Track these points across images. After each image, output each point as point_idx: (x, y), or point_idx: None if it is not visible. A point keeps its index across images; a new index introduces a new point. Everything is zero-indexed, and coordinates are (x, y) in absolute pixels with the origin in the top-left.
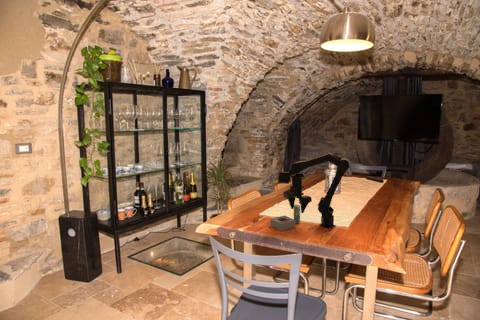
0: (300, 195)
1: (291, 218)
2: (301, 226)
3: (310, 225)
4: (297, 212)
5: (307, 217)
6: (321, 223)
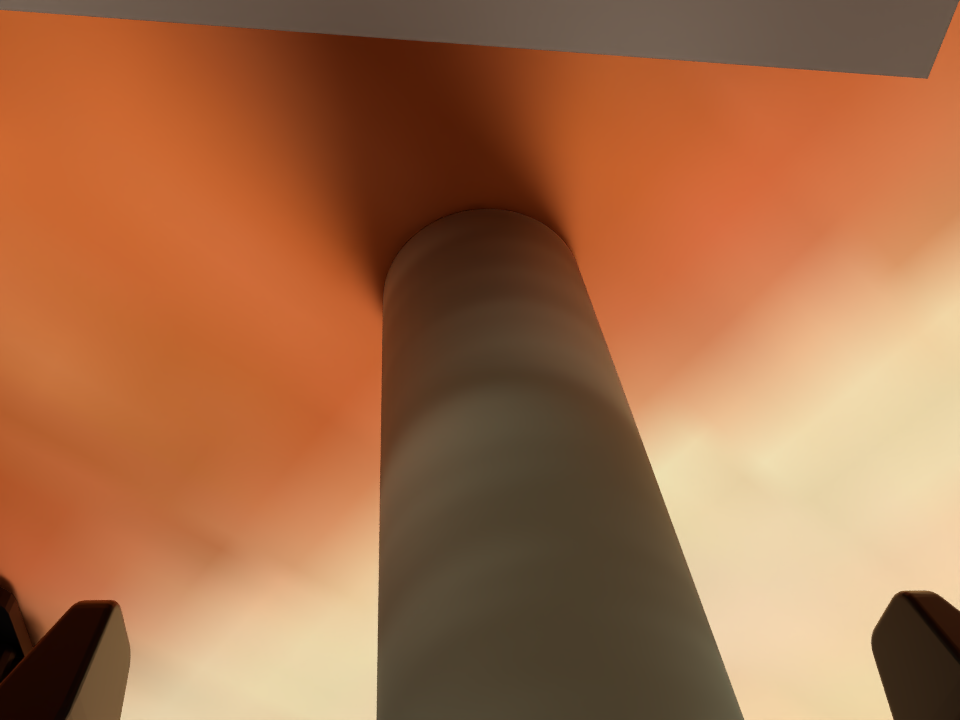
0: None
1: (350, 34)
2: (125, 200)
3: (92, 439)
4: (395, 542)
5: None
6: (1, 653)
